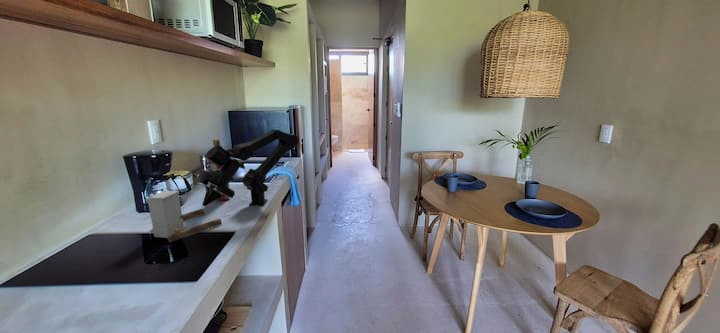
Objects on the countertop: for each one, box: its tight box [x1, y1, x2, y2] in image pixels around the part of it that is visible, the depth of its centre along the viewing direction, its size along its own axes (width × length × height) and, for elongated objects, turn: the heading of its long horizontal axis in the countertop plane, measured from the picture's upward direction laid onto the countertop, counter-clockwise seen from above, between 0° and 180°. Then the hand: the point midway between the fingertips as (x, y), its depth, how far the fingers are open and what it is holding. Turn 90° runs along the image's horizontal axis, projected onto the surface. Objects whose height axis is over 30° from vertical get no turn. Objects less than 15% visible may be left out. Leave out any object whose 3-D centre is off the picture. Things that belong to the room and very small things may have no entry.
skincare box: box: [146, 190, 185, 239], centre depth 109 cm, size 8×6×15 cm
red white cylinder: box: [209, 138, 231, 201], centre depth 139 cm, size 7×7×28 cm
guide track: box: [167, 208, 222, 243], centre depth 115 cm, size 18×16×4 cm
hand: (203, 205), depth 119 cm, fingers closed
